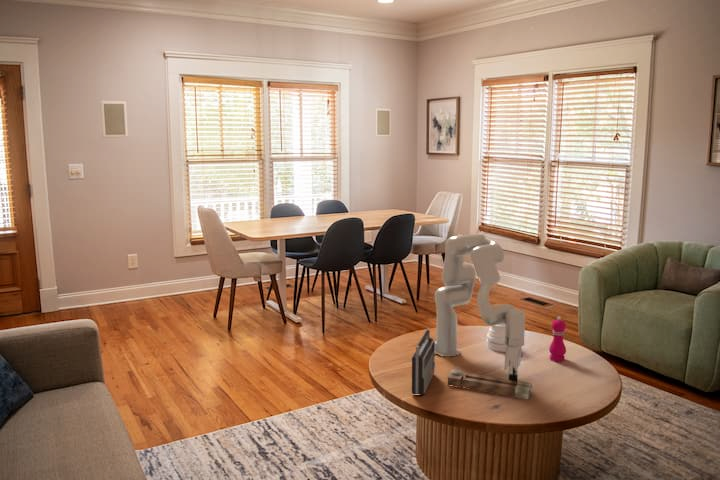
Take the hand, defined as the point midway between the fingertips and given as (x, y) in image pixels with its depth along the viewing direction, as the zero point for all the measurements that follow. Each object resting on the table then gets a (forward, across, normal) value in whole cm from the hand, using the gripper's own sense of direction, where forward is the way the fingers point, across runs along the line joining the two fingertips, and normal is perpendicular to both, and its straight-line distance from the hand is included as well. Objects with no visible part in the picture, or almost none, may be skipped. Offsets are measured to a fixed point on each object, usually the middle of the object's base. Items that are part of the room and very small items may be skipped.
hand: (512, 384), depth 242 cm
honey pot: (+2, -45, -15) cm, 48 cm away
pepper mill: (+2, -39, +12) cm, 41 cm away
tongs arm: (+1, +3, -5) cm, 6 cm away
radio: (+2, +11, -34) cm, 35 cm away
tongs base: (+2, +4, -9) cm, 10 cm away
